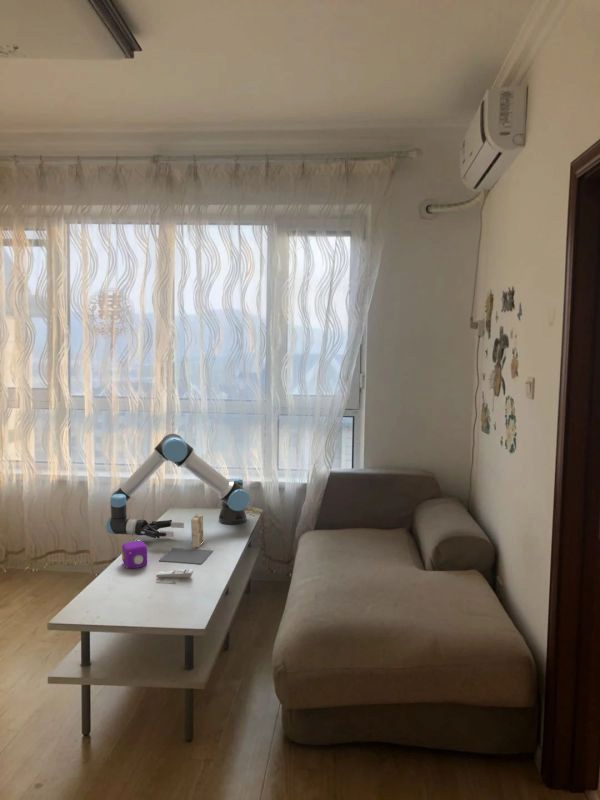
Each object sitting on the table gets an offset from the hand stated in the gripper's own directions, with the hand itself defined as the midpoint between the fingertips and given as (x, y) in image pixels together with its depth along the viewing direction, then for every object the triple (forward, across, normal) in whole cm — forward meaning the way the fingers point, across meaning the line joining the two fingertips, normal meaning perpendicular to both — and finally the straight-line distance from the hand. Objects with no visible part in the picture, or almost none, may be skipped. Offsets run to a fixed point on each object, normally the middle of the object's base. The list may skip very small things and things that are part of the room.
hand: (178, 529), depth 283 cm
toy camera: (-8, +29, -7) cm, 31 cm away
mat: (+10, +15, -7) cm, 19 cm away
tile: (+10, 0, -7) cm, 12 cm away
